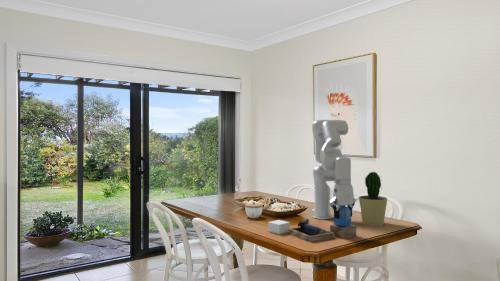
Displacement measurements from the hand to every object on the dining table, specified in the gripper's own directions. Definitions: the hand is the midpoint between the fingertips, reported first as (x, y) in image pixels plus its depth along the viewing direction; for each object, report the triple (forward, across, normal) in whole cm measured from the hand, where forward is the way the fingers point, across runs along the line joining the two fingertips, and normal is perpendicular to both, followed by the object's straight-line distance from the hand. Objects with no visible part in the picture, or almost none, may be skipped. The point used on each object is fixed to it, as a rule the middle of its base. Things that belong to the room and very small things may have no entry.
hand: (343, 216), depth 182 cm
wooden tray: (+9, -14, +8) cm, 19 cm away
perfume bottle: (+4, 0, 0) cm, 4 cm away
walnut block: (+9, 0, 0) cm, 9 cm away
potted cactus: (+10, +33, +11) cm, 36 cm away
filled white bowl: (+10, -17, +60) cm, 63 cm away
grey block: (+10, -23, +23) cm, 34 cm away
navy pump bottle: (+10, -12, +10) cm, 18 cm away
